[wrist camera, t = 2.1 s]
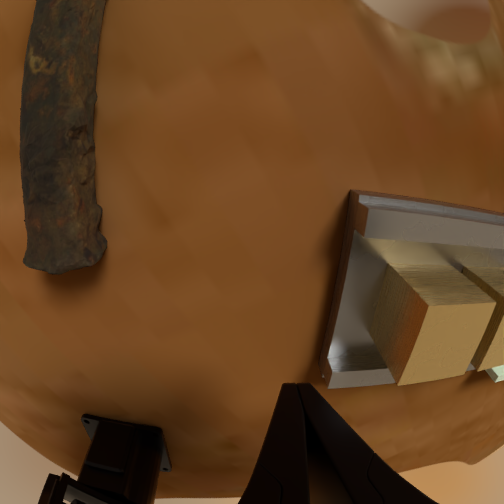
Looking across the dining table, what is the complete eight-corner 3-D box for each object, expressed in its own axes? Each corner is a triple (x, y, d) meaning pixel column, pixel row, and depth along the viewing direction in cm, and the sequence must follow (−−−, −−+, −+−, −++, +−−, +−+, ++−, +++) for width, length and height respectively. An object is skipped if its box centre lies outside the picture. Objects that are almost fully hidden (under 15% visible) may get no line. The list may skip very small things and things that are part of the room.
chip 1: (429, 330, 15) (464, 374, 12) (369, 333, 15) (397, 385, 12) (451, 265, 14) (496, 302, 10) (387, 262, 14) (428, 305, 10)
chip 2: (486, 324, 16) (520, 360, 12) (442, 329, 16) (477, 371, 12) (506, 267, 14) (548, 298, 11) (464, 265, 14) (509, 301, 10)
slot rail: (487, 346, 18) (503, 365, 16) (318, 363, 17) (326, 392, 15) (531, 219, 14) (554, 231, 12) (350, 189, 14) (370, 200, 12)
